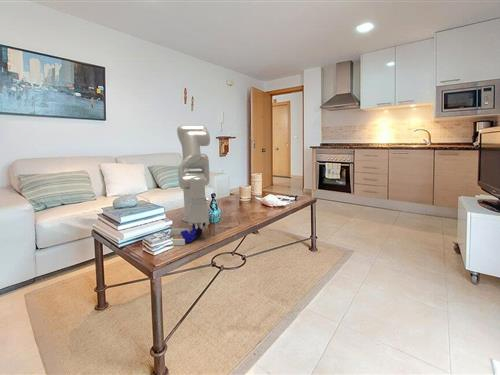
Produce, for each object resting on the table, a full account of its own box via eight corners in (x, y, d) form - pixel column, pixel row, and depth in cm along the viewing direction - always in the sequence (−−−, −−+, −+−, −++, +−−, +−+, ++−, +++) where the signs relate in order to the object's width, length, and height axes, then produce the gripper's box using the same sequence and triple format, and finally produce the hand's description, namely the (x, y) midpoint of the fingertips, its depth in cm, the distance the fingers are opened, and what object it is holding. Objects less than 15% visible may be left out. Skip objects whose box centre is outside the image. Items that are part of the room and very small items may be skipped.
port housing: (170, 234, 145) (170, 229, 145) (188, 233, 146) (188, 228, 146) (164, 246, 129) (164, 240, 128) (184, 245, 130) (184, 239, 130)
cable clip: (194, 234, 144) (190, 224, 143) (201, 232, 142) (197, 222, 142) (182, 243, 133) (178, 232, 132) (189, 242, 131) (185, 230, 130)
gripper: (212, 199, 140) (214, 232, 142) (183, 200, 138) (185, 234, 141) (212, 202, 132) (214, 237, 135) (182, 203, 130) (184, 238, 133)
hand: (199, 235), depth 138 cm, fingers closed
